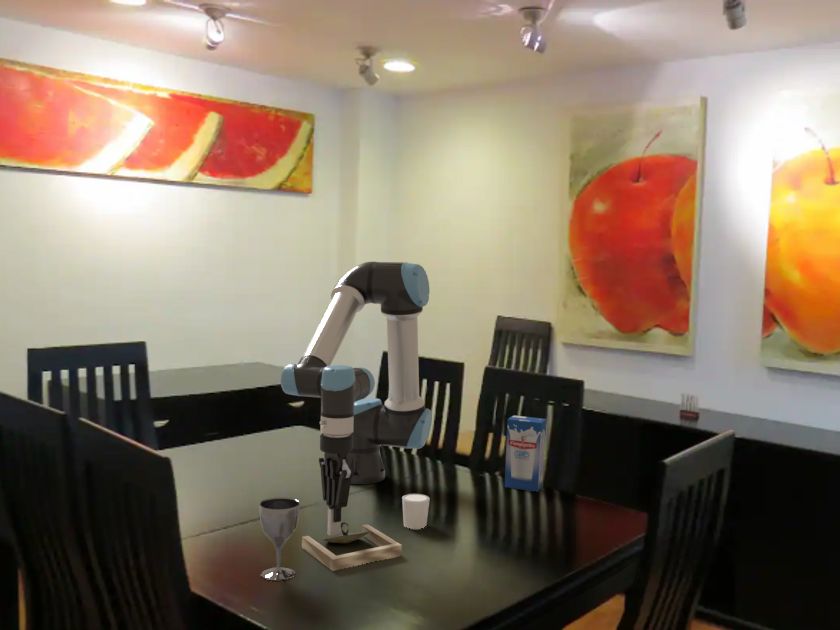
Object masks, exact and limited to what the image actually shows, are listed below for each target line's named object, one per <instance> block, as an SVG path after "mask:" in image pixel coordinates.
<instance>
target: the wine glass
mask: <svg viewBox="0 0 840 630" xmlns="http://www.w3.org/2000/svg"><path fill="white" fill-rule="evenodd" d="M299 517H300V502H299V500H298V499H296V498H292V497H288V496H287V497H284V496H278V497H270V498H269V497H268V498H266V499H263V500H262V501H260V502H259V519H260V525H261V529H262V531H263V533H264V535H265V536H266V537H267V538H268V539H269V540H270V541H271V543H272V544H273V546H274V548H275V554H276V555H275V556H276V565H275V566H276V567H271V568H267V569H265V570H263V571H262V572H261V573H262V574H261V573H260V577H261V576H262V577H263V578H265V579H267V580H281V579H286V578H287V579H288V578H292V577H293V578H295V577H294V575H295V573H296V571H295V570H294V569H293V568H288V567H281V559H282V557H281V556H282V550H283V547H284V545H285V543H286V542H287V541H288V539H289V538H290V537H292V535H293V534H294V532H295V531H296V529H297V526H298V523H299ZM295 576H296V575H295ZM263 578H262V579H263ZM293 578H292V579H293ZM267 580H266V581H267Z"/></svg>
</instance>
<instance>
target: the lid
mask: <svg viewBox="0 0 840 630" xmlns="http://www.w3.org/2000/svg"><path fill="white" fill-rule="evenodd" d="M344 525H346V526H347V527H349V524H348V523H347V522H344V521H343V522H341V534H338V535H333V536H328V537H323V538H322V540H323V541H325V542H329V543H331V544H332V543H334V544H349V543H352V542H354V541H356V540H359V539H361V538H362V537H363V536H364V535H366V534H368V533H369V531H362V530H361V531H355V532H349V529H347V530H346V532H345V531H344V530H343V527H344ZM363 538H364V537H363Z"/></svg>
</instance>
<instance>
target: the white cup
mask: <svg viewBox="0 0 840 630" xmlns="http://www.w3.org/2000/svg"><path fill="white" fill-rule="evenodd" d="M401 499H402V500H401V502H402V504H401V506H402V517H403V518H402V521H403V527H404V528H406V527H407V529H409V528H410V530H422V529H421V528H423V529H425V528H426V527H427V524H428V523H427V522H428V515H429V507H430V499H431V498H430V497H429V496H428V495H427V494H426V495H425V494H422V493H408V494H405V495H403V496H402V497H401ZM425 526H426V527H425ZM424 527H425V528H424Z"/></svg>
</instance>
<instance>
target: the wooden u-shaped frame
mask: <svg viewBox="0 0 840 630" xmlns="http://www.w3.org/2000/svg"><path fill="white" fill-rule="evenodd" d="M361 531H369V533H368V534H366V535H364V536H363V538H365V539H366V540H368V541H369V542H371V543H373V544H374V545H376V546H377V547H371V548H366V549H362V550H357V551H353V552H348V553H342V554H338V555H335V553H333V552H332V551H331V550H329V549H328V548H326V547H324V546H323V545H322V544H321V543H319V542H318V541H316V540H315V539H314V538H312V537H311V536H309V535H304V536H303V535H302V536H301V548H302V549H303V550H304V551H306V552H307V553H308V554H310V555H311V556H312V557H314V558H315V559H316V560H317V561H319V562H320V563H321V564H323V565H324V566H325V567H327V568H328V569H329V570H330V571H332V572H335V571H341V570H345V569H349V567H350V568H354V567H358V565H359V566H362V564H363V565H366V563H368V564H371V563H370V562H372V563H376V562H375V561H377V562H381V561H385V559H386V560H389V559H395V558H398V557H402V551H403V550H402V547H403V544H401V543H399V542H397V541H396V540H394V539H393V538H391V537H389V536H388V535H386V534H385V533H383V532H381V531H380V530H378V529H376V528H375V527H373V526H371V525H369V524H368V523H367V524H362V525H361ZM380 560H381V561H380ZM353 566H354V567H353ZM344 568H345V569H344ZM340 569H341V570H340Z"/></svg>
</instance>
